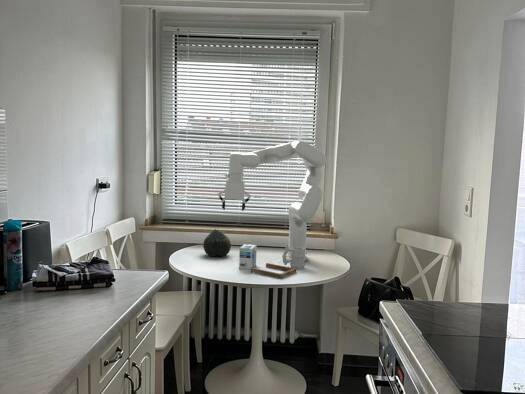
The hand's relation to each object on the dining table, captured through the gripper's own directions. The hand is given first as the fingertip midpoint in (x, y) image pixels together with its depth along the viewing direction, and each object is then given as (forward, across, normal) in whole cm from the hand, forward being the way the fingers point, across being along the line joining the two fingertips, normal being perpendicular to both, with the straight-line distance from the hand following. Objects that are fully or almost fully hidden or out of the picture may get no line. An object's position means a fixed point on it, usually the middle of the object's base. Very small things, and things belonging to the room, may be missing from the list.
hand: (233, 210), depth 233 cm
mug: (+27, +32, -8) cm, 43 cm away
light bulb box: (+28, +9, -8) cm, 30 cm away
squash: (+28, -7, +17) cm, 33 cm away
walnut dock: (+27, +20, -18) cm, 38 cm away
